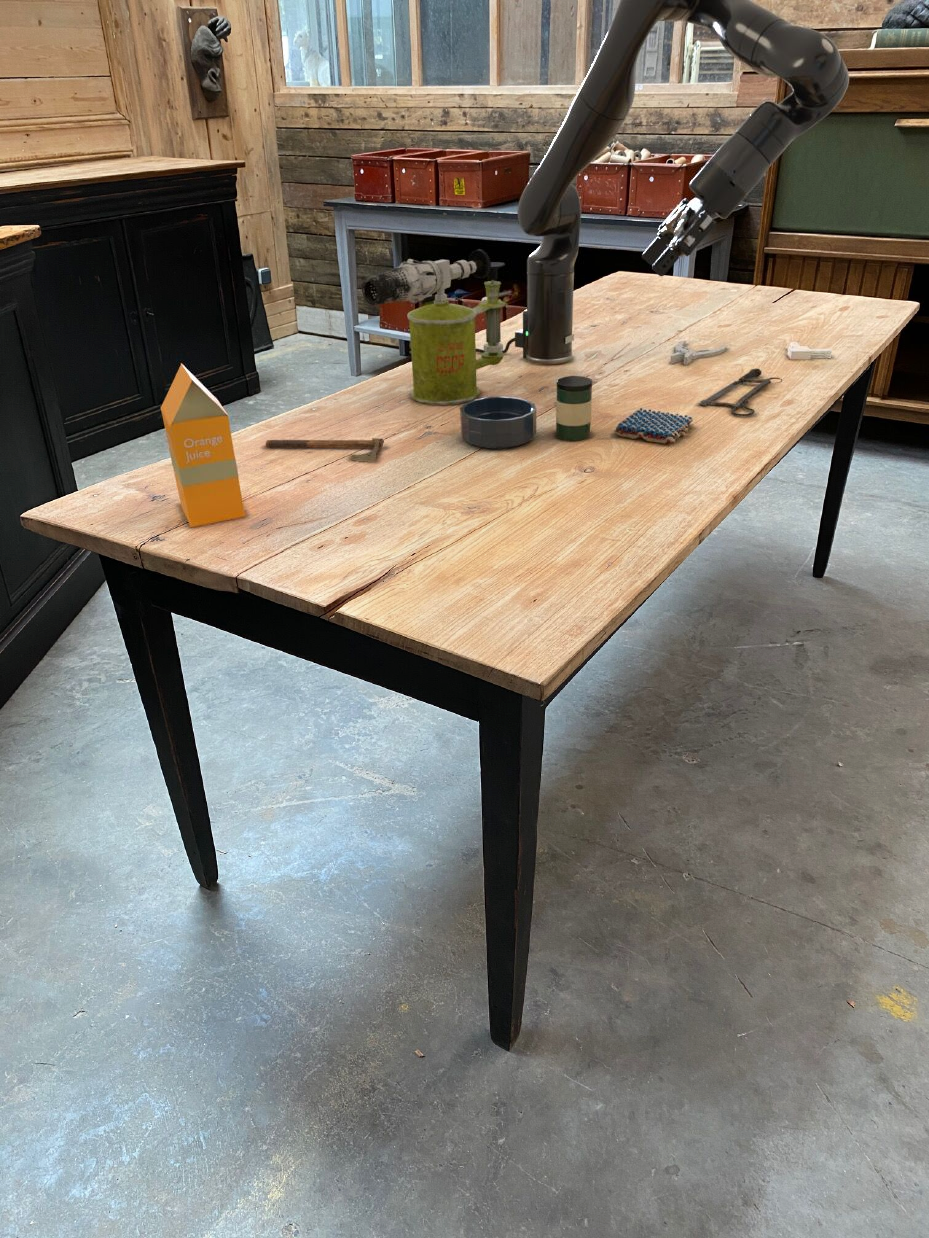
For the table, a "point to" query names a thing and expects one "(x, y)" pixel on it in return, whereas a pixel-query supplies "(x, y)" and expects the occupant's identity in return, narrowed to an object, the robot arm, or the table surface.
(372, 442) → the tomahawk
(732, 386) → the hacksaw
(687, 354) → the pliers
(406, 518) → the table surface
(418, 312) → the blowtorch
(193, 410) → the orange juice
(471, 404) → the slate bowl
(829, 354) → the corner connector
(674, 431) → the woven mat
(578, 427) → the green tin
